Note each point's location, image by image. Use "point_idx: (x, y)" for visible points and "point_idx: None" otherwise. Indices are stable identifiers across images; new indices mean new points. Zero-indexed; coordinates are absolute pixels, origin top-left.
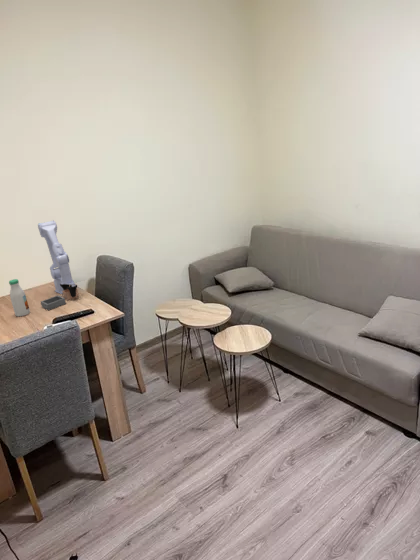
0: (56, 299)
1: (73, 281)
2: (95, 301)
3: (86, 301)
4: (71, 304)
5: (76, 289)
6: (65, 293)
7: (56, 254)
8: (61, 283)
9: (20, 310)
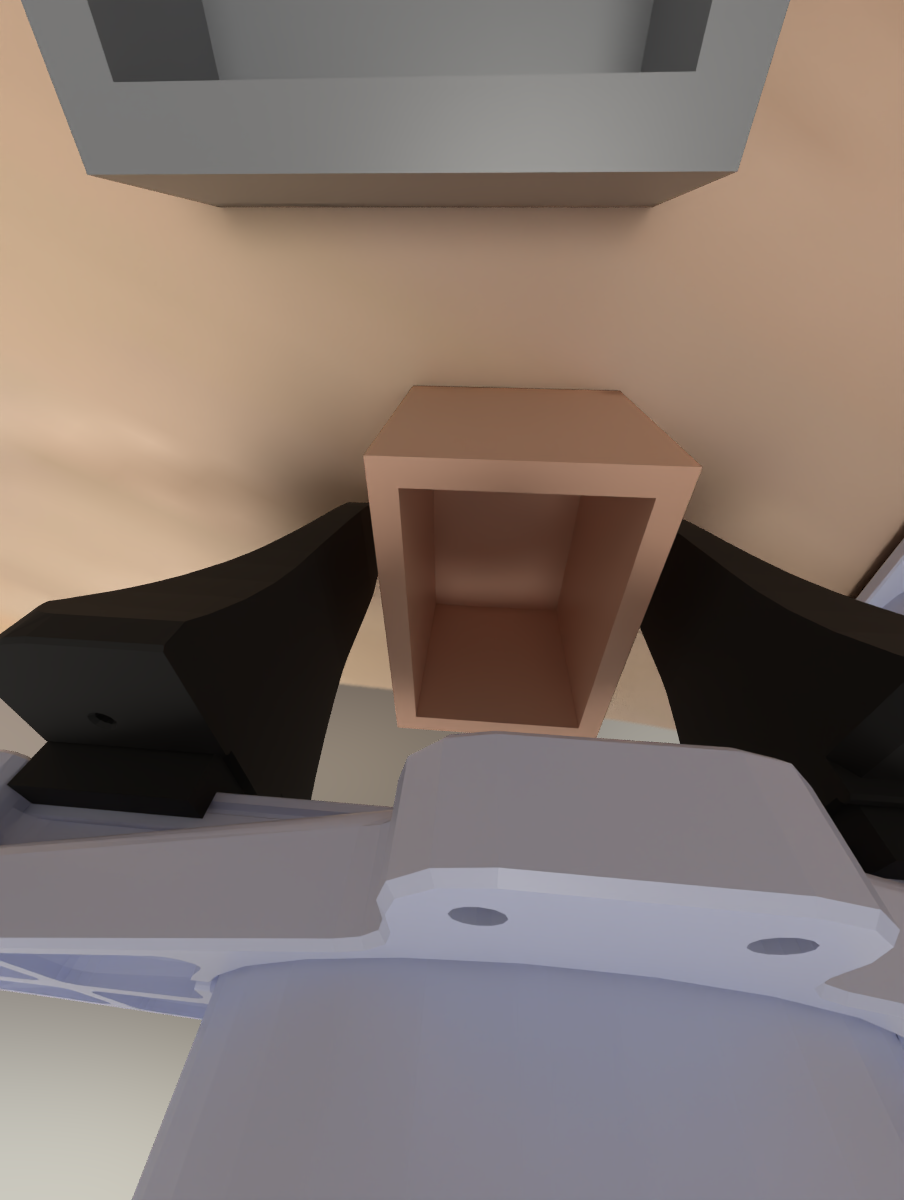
0: (669, 23)
1: (192, 1017)
2: (19, 614)
3: (95, 556)
4: (87, 295)
5: (397, 708)
6: (444, 443)
7: None
8: (570, 880)
9: None
